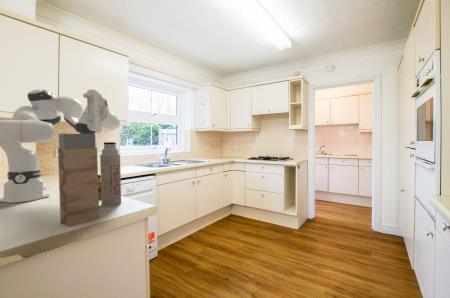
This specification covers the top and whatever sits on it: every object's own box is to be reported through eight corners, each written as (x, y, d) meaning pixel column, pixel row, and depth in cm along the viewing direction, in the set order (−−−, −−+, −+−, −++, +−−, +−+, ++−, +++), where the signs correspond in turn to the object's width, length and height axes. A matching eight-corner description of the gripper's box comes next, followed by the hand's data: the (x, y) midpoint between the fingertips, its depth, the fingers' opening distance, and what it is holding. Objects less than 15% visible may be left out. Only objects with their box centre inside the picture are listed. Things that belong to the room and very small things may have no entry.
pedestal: (60, 223, 77) (57, 148, 76) (90, 214, 85) (88, 147, 84) (68, 226, 73) (65, 148, 72) (99, 217, 82) (97, 147, 81)
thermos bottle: (124, 203, 100) (122, 142, 99) (105, 207, 95) (103, 142, 94) (117, 200, 106) (115, 142, 105) (98, 203, 100) (97, 142, 99)
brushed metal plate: (48, 148, 80) (47, 134, 80) (78, 147, 88) (78, 134, 88) (64, 148, 73) (63, 133, 73) (95, 147, 81) (95, 134, 81)
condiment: (103, 200, 106) (102, 175, 106) (82, 203, 102) (81, 177, 101) (102, 197, 113) (101, 173, 112) (82, 199, 108) (81, 175, 107)
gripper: (94, 134, 112) (77, 126, 98) (93, 97, 116) (77, 84, 102) (107, 133, 112) (92, 125, 99) (106, 96, 116) (91, 83, 103)
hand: (84, 104), depth 100 cm, fingers open, 8 cm apart
